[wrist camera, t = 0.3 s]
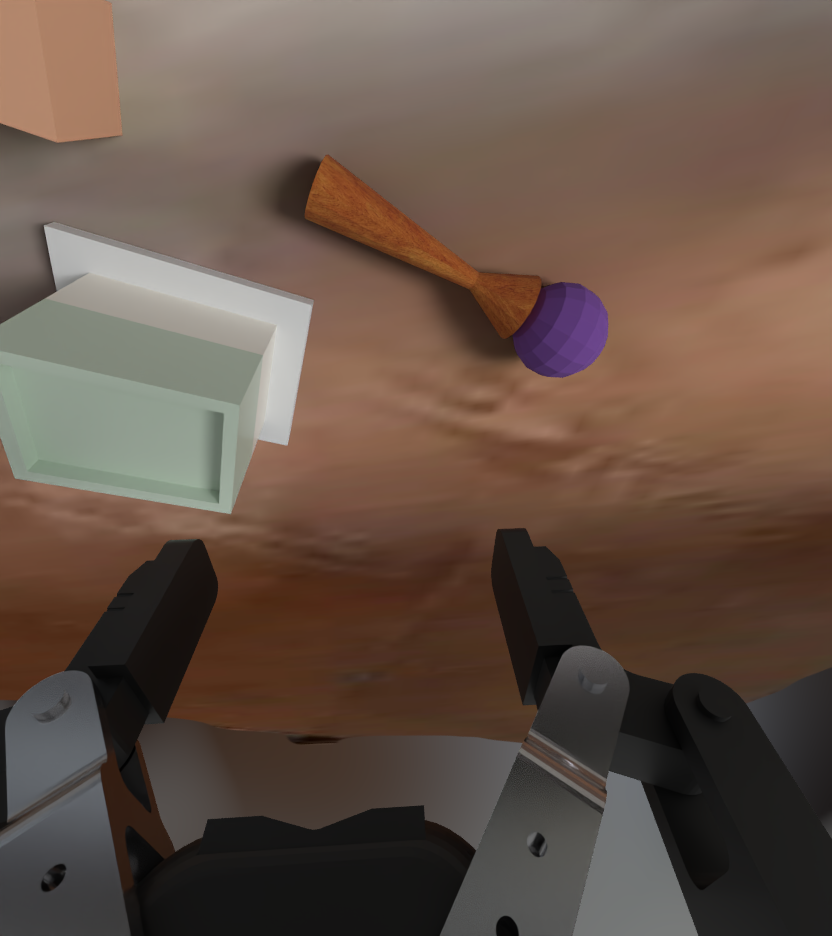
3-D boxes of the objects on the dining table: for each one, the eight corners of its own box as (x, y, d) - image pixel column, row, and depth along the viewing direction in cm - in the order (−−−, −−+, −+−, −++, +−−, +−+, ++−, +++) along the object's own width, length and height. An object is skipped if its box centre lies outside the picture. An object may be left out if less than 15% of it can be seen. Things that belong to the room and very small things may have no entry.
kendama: (332, 112, 19) (646, 318, 25) (341, 138, 25) (600, 304, 30) (288, 243, 22) (584, 403, 28) (304, 241, 27) (551, 376, 33)
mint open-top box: (85, 394, 32) (-19, 497, 23) (54, 221, 25) (-113, 281, 16) (289, 438, 36) (261, 539, 27) (313, 300, 28) (286, 380, 20)
